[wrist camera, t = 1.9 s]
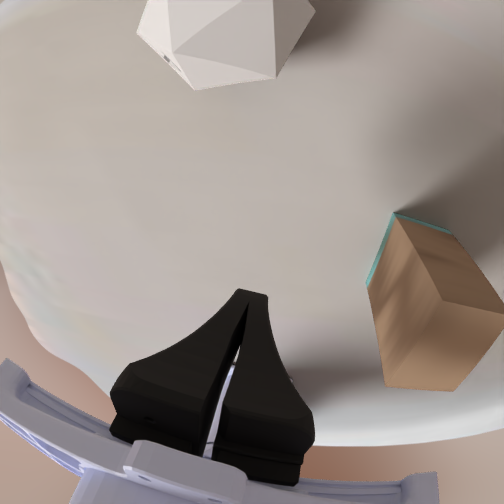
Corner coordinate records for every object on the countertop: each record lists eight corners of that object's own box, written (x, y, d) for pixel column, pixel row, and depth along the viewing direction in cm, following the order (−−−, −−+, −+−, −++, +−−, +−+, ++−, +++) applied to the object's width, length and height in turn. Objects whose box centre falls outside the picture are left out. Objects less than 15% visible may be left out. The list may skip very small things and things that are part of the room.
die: (180, -12, 14) (80, 48, 11) (269, -81, 8) (167, -74, 5) (250, 62, 19) (181, 143, 16) (350, 16, 13) (313, 84, 9)
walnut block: (418, 294, 22) (453, 391, 13) (365, 282, 22) (385, 386, 14) (448, 230, 19) (511, 316, 10) (392, 212, 19) (442, 300, 11)
